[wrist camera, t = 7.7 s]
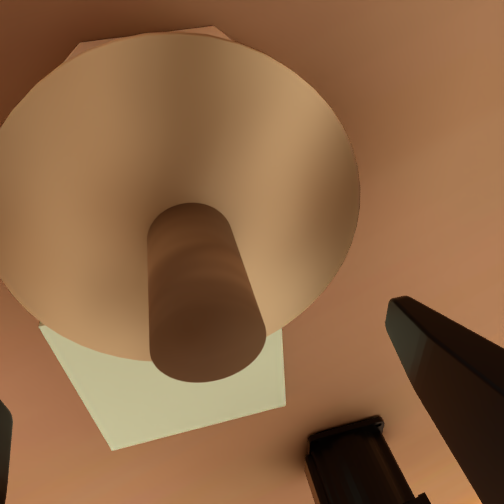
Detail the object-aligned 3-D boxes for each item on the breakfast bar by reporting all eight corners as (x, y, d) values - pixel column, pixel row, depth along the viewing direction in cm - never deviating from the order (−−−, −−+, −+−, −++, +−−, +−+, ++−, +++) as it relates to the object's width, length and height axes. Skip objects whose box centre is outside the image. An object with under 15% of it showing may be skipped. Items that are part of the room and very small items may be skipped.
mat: (275, 268, 21) (278, 275, 20) (283, 398, 28) (286, 405, 28) (40, 317, 19) (38, 326, 19) (112, 442, 27) (112, 450, 26)
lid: (364, 6, 11) (508, 29, 7) (341, 312, 18) (403, 418, 14) (-109, 63, 9) (-318, 144, 5) (71, 374, 16) (47, 516, 12)
